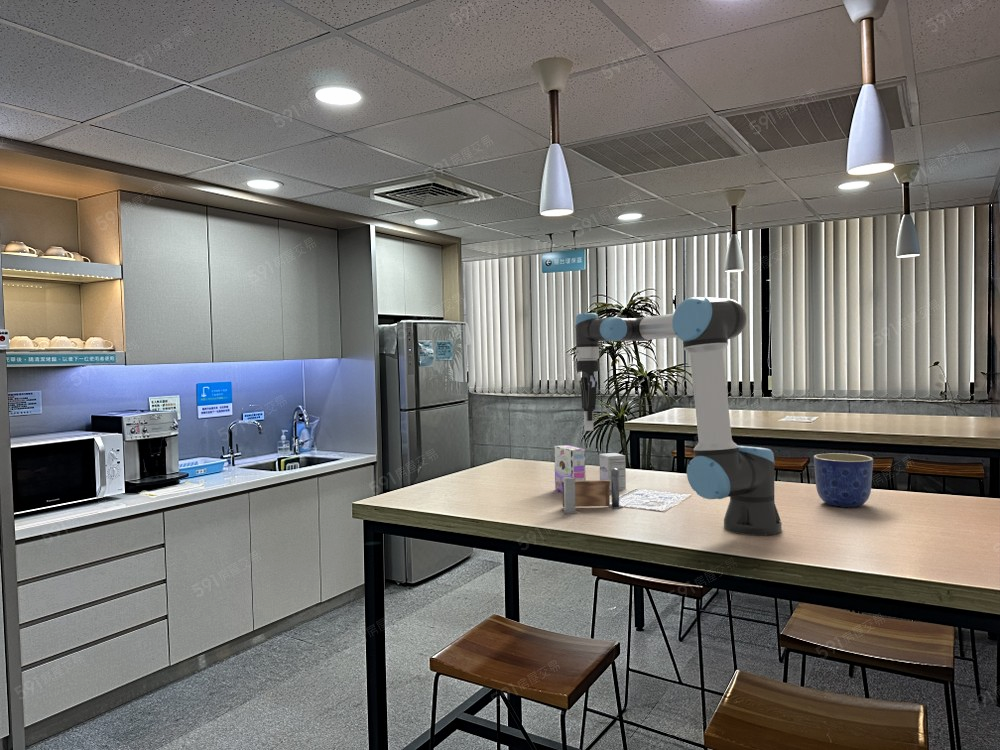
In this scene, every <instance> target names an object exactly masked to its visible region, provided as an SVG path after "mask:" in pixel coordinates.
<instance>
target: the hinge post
mask: <svg viewBox="0 0 1000 750" xmlns="http://www.w3.org/2000/svg"><path fill="white" fill-rule="evenodd" d="M611 489H612V490H611V504H610V506H608V507H609V508H610V509H613V510H614V509H623V508H624V507H623V506H622V505H621V504H620V490H619V470H618V469H616V468H614V469H612V470H611Z"/></svg>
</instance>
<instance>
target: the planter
mask: <svg viewBox="0 0 1000 750" xmlns="http://www.w3.org/2000/svg"><path fill="white" fill-rule="evenodd" d="M813 465H814V477H815V488H816V491H817V492H816V493H817V494H818V497H819V498H820V499H821V501H823V502H824V503H826V504H827V505H830V506H833V505H834V506H833V507H838V506H841V507H840V508H857V507H860V506H863V505H864V504H866V502H868V500H869V498H870V496H871V492H872V480H873V471H874V470H873V468H874V457H871V456H868V455H863V454H855V453H839V452H838V453H835V452H832V453H820V454H819V453H818V454H815V455H813ZM856 506H857V507H856Z"/></svg>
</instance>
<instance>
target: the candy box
mask: <svg viewBox="0 0 1000 750" xmlns="http://www.w3.org/2000/svg"><path fill="white" fill-rule="evenodd" d="M553 449H554V450H553V451H554V452H553V453H554V455H553V457H554V484H555V487H554V489H556V490H555V491H557V490H558V492H560V493H563V489H562V481H564V480H563V477H574V478H576V481H587V480H586V448H582V447H576V446H573V445H568V444H565V445H564V444H563V445H554V446H553Z"/></svg>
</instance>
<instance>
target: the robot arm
mask: <svg viewBox="0 0 1000 750" xmlns="http://www.w3.org/2000/svg"><path fill="white" fill-rule="evenodd" d="M746 325H747V313H746V310H745V308H744V307H743V305H742V304H740V302H738V301H737V300H734V299H732V298H727V297H724V298H723V297H709V296H696V297H689V298H686V299H684V300H682V302H680V303H679V304H678V305H677V308H676V309H675V310H674V312H673V313H668V314H661V315H652V316H646V317H645V316H643V317H633V318H632V317H628V318H627V317H619V316H608V317H602V318H599V315H598V313H594V312H593V313H592V312H589V313H578V314H577V315H576V316H575V327H574V328H575V350H574V353H575V356H576V359H577V361H576V362H575V363H576V364H575V365H576V372H578V373H581V377H580V380H579V381H578V383H579V388H580V398H581V401H580V402H581V409H583V414H584V415H583V421H584V424H583V425H584V431H586V432H587V431H589V432H591V431H593V432H594V411H595V410H596V401H597V387H598V380H596V377H595V373H596V372H597V373H598V372H599V371H600V361H599V360H598V359H599V358H600V346H599V342H628V341H629V342H646V341H649V340H650V341H651V340H665V339H673V338H674V339H675V338H678V339H679V340H681V341H682V344H683V350H684V351H685V352H686V353H687V354H689V358H690V369H691V377H692V388H693V399H694V408H695V418H696V420H695V421H696V428H697V430H696V431H697V439H698V440H697V441H698V442H697V444H696V445H695V447H694V448H693V458H692V459H691V460H690V461H689V463H688V464H687V467H686V477H687V481H688V484H689V485H690V486H689V487H691V489H692V490H693V491H694V492H695V493H696V495H698V496H699V497H701V498H703V499H706V500H722V499H725V498H729V502H728V505H727V509H726V512H725V514H724V515H725V516H723V517H724V518H723V528H724V529H725V530H726V531H729V532H730V533H731V532H732V533H735V534H741V535H747V536H748V535H749V536H773V535H777V534H780V533H781V532H782V526H783V525H782V523H783V522H782V520H781V518H780V515H779V512H778V509H777V506H776V504H775V465H776V463H775V455H774V452H773V451H772V449H770V448H765V447H760V446H759V447H758V446H747V445H738V444H737V443H736V442H734V440H733V438H732V436H733V435H732V429H731V428H732V426H731V419H730V418H731V417H730V410H729V409H730V406H729V399H728V389H727V388H728V387H727V381H726V380H727V379H726V369H725V361H724V351H725V349H726V348H727V347H728V345H729V340H732V339H734V338H736V337H737V336H739V335H740V334H741V333H742V332H743V331H744V329H745V327H746Z"/></svg>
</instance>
